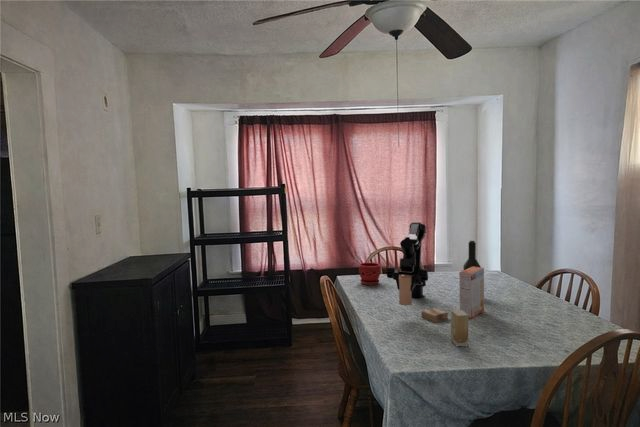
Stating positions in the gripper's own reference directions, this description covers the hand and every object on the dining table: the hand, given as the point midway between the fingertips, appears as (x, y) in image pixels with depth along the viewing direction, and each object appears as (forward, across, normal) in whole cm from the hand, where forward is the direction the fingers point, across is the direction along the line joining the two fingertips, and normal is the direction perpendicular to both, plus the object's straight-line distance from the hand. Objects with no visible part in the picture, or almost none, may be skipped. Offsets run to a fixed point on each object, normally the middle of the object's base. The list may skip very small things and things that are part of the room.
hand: (404, 290), depth 170 cm
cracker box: (-2, +28, +21) cm, 35 cm away
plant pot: (-29, -31, +48) cm, 64 cm away
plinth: (+6, +12, +13) cm, 19 cm away
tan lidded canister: (+4, 0, +6) cm, 7 cm away
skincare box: (+24, +24, -5) cm, 34 cm away
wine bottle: (-20, +28, +39) cm, 52 cm away
